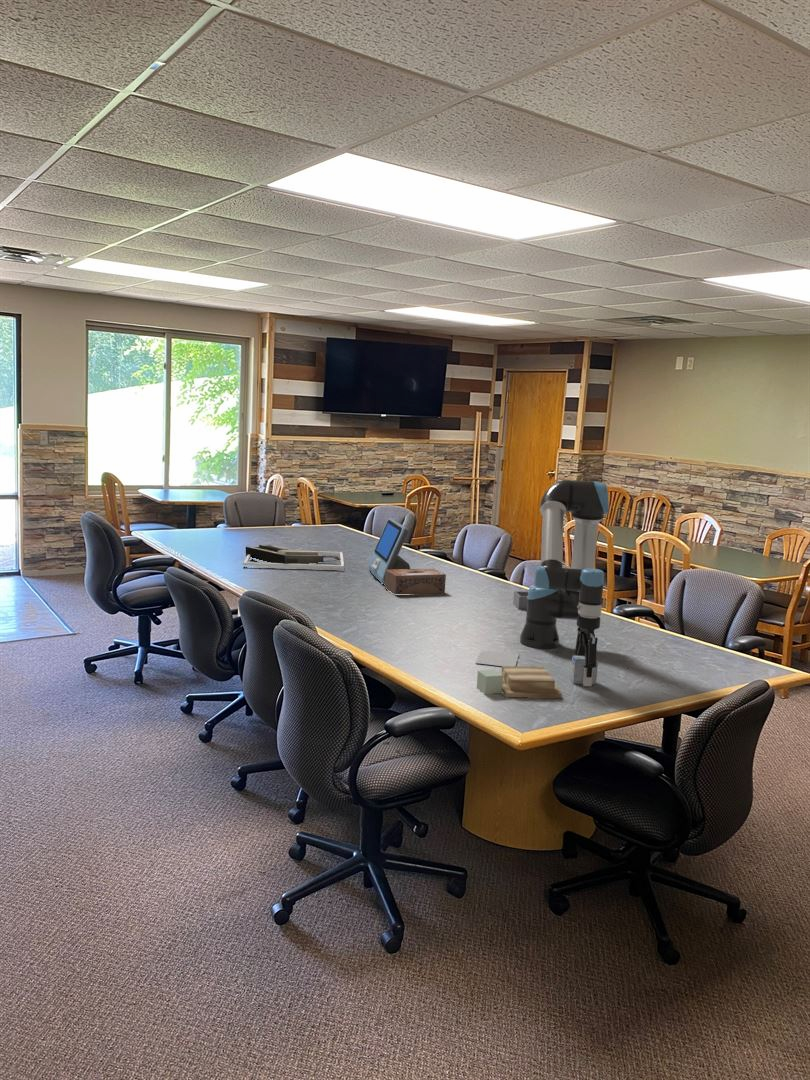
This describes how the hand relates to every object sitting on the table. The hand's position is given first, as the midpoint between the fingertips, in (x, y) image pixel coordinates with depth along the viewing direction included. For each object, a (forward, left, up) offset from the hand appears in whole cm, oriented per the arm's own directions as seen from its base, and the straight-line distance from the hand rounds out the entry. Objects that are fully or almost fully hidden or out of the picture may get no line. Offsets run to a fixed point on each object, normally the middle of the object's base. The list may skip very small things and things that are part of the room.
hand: (583, 681), depth 275 cm
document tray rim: (-196, -103, 0) cm, 221 cm away
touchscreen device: (-161, -52, -1) cm, 169 cm away
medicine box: (0, 0, -1) cm, 1 cm away
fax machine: (-196, -103, 0) cm, 221 cm away
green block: (+10, -34, 0) cm, 35 cm away
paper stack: (-18, -21, -1) cm, 28 cm away
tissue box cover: (-131, -43, -1) cm, 138 cm away
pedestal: (+7, -21, 0) cm, 22 cm away
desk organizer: (-106, +12, 0) cm, 107 cm away
